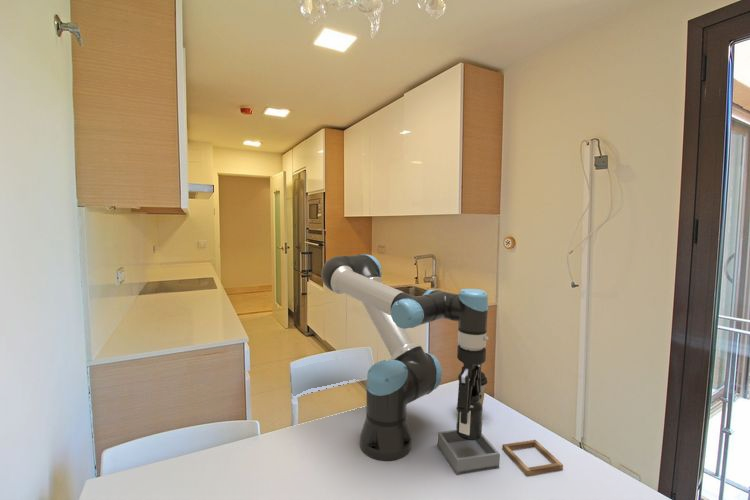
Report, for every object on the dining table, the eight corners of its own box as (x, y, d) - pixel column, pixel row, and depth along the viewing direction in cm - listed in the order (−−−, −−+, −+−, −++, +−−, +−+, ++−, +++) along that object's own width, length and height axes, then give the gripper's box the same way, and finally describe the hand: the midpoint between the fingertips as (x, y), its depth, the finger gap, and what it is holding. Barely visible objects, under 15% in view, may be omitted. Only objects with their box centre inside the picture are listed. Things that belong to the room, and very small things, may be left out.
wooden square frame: (502, 449, 103) (502, 444, 102) (535, 444, 105) (535, 439, 105) (526, 476, 92) (527, 470, 92) (562, 470, 95) (563, 464, 94)
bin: (437, 445, 104) (437, 432, 104) (475, 439, 107) (476, 427, 107) (456, 474, 92) (457, 460, 92) (499, 467, 95) (499, 453, 95)
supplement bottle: (452, 435, 98) (453, 393, 97) (461, 423, 103) (462, 384, 102) (476, 444, 94) (478, 401, 93) (484, 432, 100) (486, 390, 99)
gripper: (475, 361, 86) (471, 450, 88) (494, 338, 103) (491, 414, 105) (445, 354, 90) (442, 440, 92) (468, 333, 107) (466, 406, 109)
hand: (468, 426), depth 99 cm, fingers closed on supplement bottle, 7 cm apart
